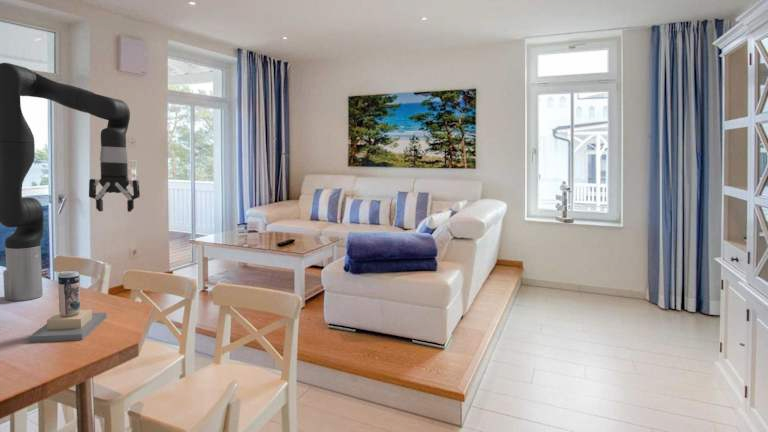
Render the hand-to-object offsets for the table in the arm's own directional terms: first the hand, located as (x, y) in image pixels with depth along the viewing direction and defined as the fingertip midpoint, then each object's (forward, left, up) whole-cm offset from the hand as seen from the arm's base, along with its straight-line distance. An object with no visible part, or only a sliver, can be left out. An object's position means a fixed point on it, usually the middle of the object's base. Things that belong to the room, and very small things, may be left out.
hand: (115, 211), depth 150 cm
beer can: (-4, -26, -26) cm, 37 cm away
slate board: (-4, -26, -30) cm, 40 cm away
